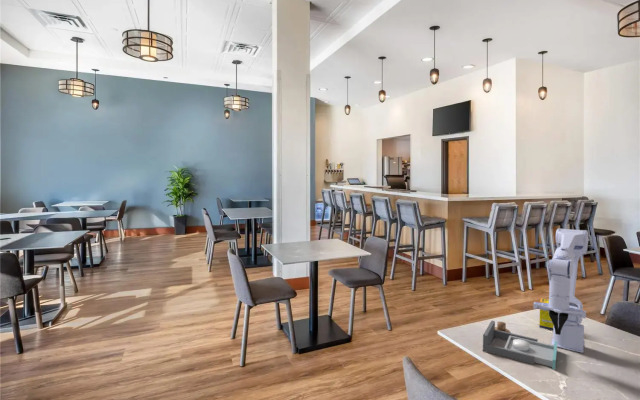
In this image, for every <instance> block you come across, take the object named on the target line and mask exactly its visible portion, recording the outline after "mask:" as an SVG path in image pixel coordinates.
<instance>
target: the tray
mask: <svg viewBox="0 0 640 400" xmlns="http://www.w3.org/2000/svg"><path fill="white" fill-rule="evenodd" d="M515 339H520V340H524V341H527V342H528V343H529V344H530V350H529V351H527V352H524V351H519V350H516V349H515V348H513V340H515ZM504 348H505V349H509V350H513V351H517V352H521V353H525V354H529V355H533V356H534V364H535V363H536V364H538V365H543V366H546V367H550V368H552V370H555V371H556V366H557V365H556V364H557V355H558V347H557V341H555V342H554V346H553V345H551V344H548V343H544V342H540V341H538V342H536V341H532V340H528V339H523V338H519V337H515V336H509V338H508V340H506V343H505V346H504Z"/></svg>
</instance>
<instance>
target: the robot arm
mask: <svg viewBox="0 0 640 400" xmlns="http://www.w3.org/2000/svg"><path fill="white" fill-rule="evenodd" d="M555 244H556V249H555V251H554V254H553V257H552V258H551V259H548V263H547V273H548V274H547V275H548V281H549V285H548V286H549V289H548V292H549V293H548V299H549V303H540V301H539V302H537V301H533V309H534V310H540V309H541V310H547V311H549V316H550V318H551V320H552V322H553V330H552V337H551V344H550V345H553V346H554V342H555V341H557V348H560V349H565V350H569V351H573V352H577V353H581V354H582V353H584V347H585V341H586V340H585V326H584V324H582V323H583V319H586V318H587V316H586V315H587V311H586V310H584V305H583V302H582V301H581V300H579V299H578V298H577V297H576V296H575V294H576V286H577V275H578V268H579V267H578V266H579V265H578V264H579V261H580V257H581V255H586V254H587V252H588V245H589V232H588V230H587V229H585V230H582V229H581V230H580V229H567V228H566V229H565V228H560V227H559V228H557V229H556V231H555Z"/></svg>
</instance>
